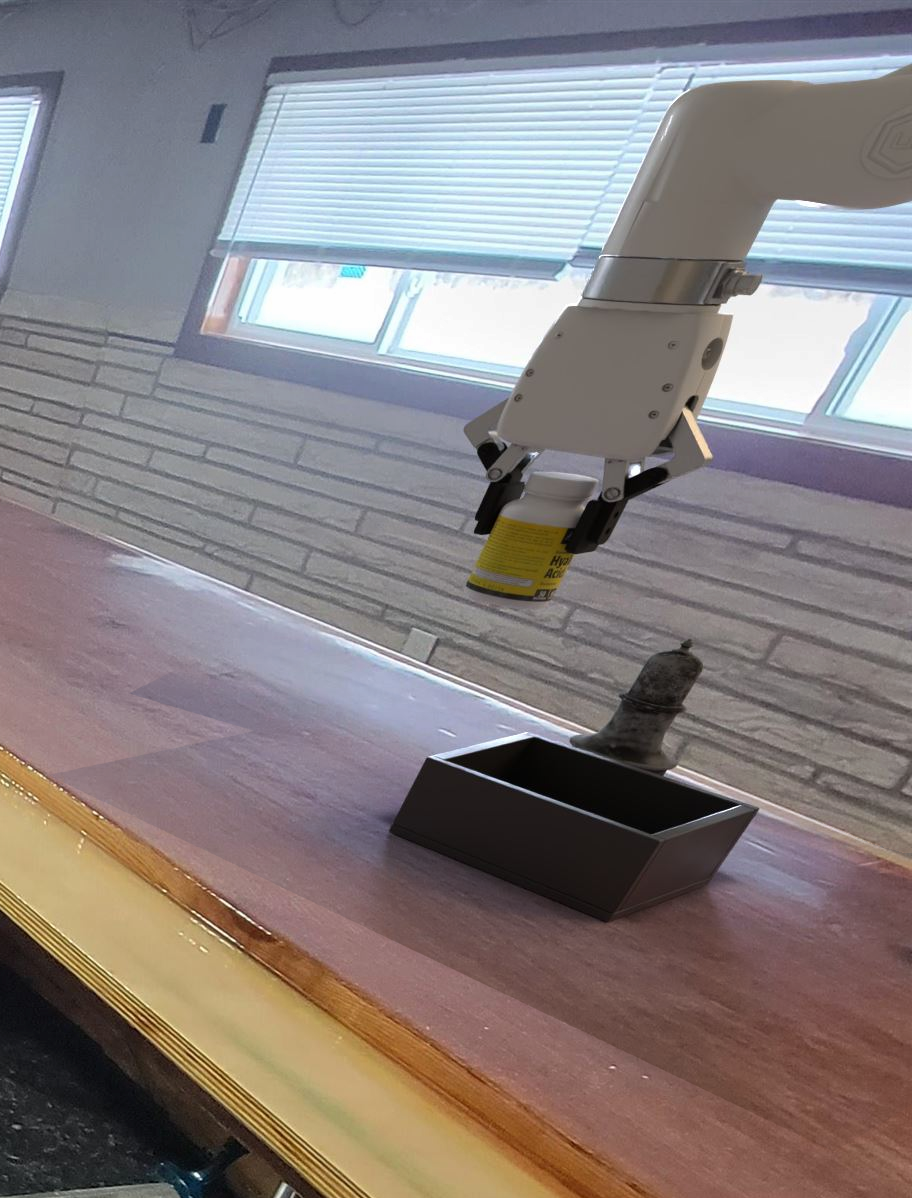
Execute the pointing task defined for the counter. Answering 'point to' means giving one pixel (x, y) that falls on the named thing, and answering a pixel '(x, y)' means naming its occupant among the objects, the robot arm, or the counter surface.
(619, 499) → the robot arm
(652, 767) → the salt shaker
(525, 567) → the supplement bottle
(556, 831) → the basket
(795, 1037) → the counter surface
